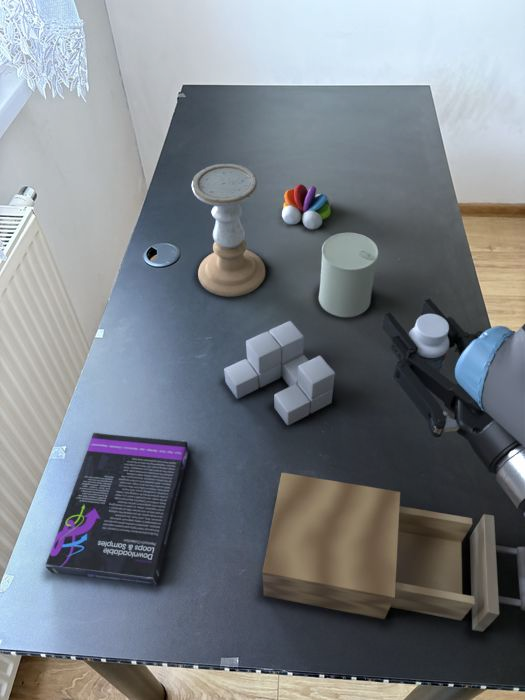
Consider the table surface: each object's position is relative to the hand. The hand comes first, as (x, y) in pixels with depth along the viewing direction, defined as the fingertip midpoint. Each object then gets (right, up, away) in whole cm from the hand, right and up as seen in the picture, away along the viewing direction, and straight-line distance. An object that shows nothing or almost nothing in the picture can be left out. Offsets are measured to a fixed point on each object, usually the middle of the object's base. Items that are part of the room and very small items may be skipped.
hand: (406, 313), depth 78 cm
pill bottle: (+2, -8, +2) cm, 8 cm away
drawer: (+4, -33, -5) cm, 33 cm away
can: (-4, +4, +27) cm, 28 cm away
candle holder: (-24, +9, +32) cm, 41 cm away
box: (-37, -27, +3) cm, 46 cm away
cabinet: (-10, -31, -2) cm, 33 cm away
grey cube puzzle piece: (-16, -12, +15) cm, 25 cm away
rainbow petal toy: (-10, +22, +42) cm, 49 cm away
